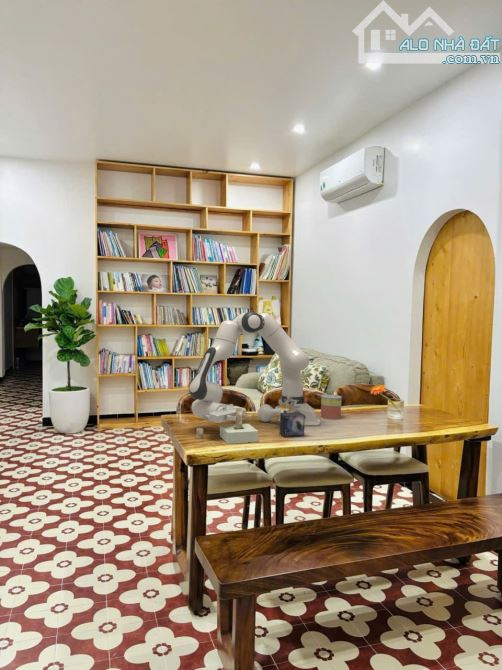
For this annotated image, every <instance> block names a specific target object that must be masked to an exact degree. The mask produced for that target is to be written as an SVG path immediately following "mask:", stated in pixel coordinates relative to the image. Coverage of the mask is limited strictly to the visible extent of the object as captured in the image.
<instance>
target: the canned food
mask: <svg viewBox="0 0 502 670" xmlns="http://www.w3.org/2000/svg"><path fill="white" fill-rule="evenodd" d="M320 398H321V400H320V401H321V402H320V403H321V405H320V418H321V419H323V420H326V421H327V420H328V421H337V420H338V419H339V420H341V419H342V398H343V397H342V396H341V395H337V394H322V395H321V397H320Z"/></svg>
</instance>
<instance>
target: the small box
mask: <svg viewBox="0 0 502 670" xmlns="http://www.w3.org/2000/svg"><path fill="white" fill-rule="evenodd" d="M279 416H280V422H279V433H278V434H279V435H280V436H281V437H283V438H295V437H296V438H297V437H301V438H302V437H305V425H304V424H305V415H304V414H302V413H301V412H292V413H280V414H279Z"/></svg>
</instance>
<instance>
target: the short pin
mask: <svg viewBox="0 0 502 670" xmlns="http://www.w3.org/2000/svg"><path fill="white" fill-rule="evenodd" d="M195 435H196V440H203V439H204V428H203V427H198V428H197V427H196V434H195Z"/></svg>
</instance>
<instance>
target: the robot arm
mask: <svg viewBox="0 0 502 670" xmlns="http://www.w3.org/2000/svg"><path fill="white" fill-rule="evenodd" d="M254 333H259V335H260V336H261V337H262V338H263V340H264V341H265V342H266V344H268V347H270V349H271V350H272V351H273V352H274V353H275V354H277V356H278V361H279V365H280V372H281V374H280V375H281V380H282V382H281V383H282V384H281V389H282V390H281V394H280V400H281V401H282V402H283V403H284V402H285V401H286V400H287V397H286V395H287V396H288V397H289V398H290V397H291V398H292V399H293V400H294V401H295V400H296V401H297V403H296V405H297V404H300V408H297V409H298V410H299V412H301V413H302V414H304V415H305V424H304V426H321V419H319V418H317V417H318V416H317V412H316V410H315V409H314V408H313V407H312V406H310V405H309V404H308V403H307V402H308V398H307V397H306V396H305V395H304V393H303V392H304V380H303V378H302V373H301V371H305V370H306V369H307V368H308V366H309V364H310V359H309V355H307V353H305V352H304V351H303V349H301V347H300V346H299V345H298V344H297V343H296V342H295V341H294V340H293V339H292V338H291V337H290V336H289V334H288V333H287V332H286V331H285V330H284V329H283V327H282V326H281V325H280V323H279V322H278V321H277V320H276V319H275V318H274V317H273V316H271V314H270V313H268V312H261V313H258V312H255V311H247V312H242V313H241V314H238V315H235V316H234V317H233V318H232V319H231V320H227V319H226V320H224V321H222V322H221V323H220V324H219V327H218V329H217V331H216V334H215V337H214V340H213V343H212V345H211V346H210V347H209V348H207V349H206V351H205V352H204V354H203V357H202V359H201V361H200V362H199V363H200V364H199V365H198V368H197V370H196V372H195V375H194V377H193V378H192V379H191V382H190V383H189V386H188V393H189V395H190V397H191V398H192V399H194V401H193V402H192V404H191V412H192V413H193V415H194V416H196V417H197V418H201V419H203V420H208V421H209V422H212V423H216V424H218V423H224V422H227V421H228V422H229V421H234V422H236V420H237V416H236V408H242V409H243V410H242V420H244V419H246V416H247V409H246V408H245V407H241V406H238V405H234V404H233V403H222V399H223V396H224V390H223V387H222V386H221V385H220V384H218V383H215V382H211V381H209V380H208V377H209V374H210V372H211V370H212V368H213V365H214V363H216V362H217V361H222V360H223V361H225V360H227V359H229V358H231V357H232V356H233V354H234V353H235V350H236V346H237V343H238V339H239V337H240V336H243V335H245V336H246V335H251V334H254ZM285 394H286V395H285ZM287 401H288V400H287ZM290 403H291V402H289V403H288V404H289V405H290ZM293 404H294V402H293ZM292 412H294V411H292ZM279 418H280V415H279V416H278V419H277V421H278V423H280V419H279Z"/></svg>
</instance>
